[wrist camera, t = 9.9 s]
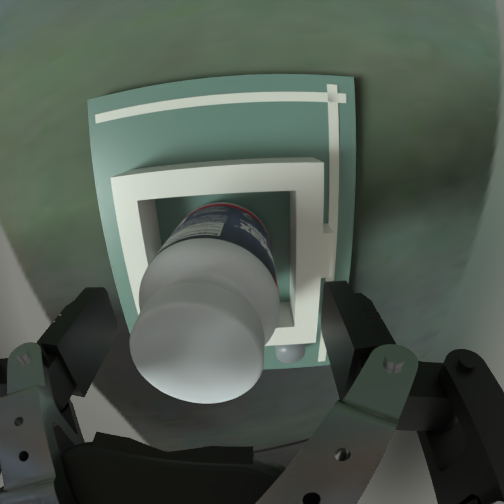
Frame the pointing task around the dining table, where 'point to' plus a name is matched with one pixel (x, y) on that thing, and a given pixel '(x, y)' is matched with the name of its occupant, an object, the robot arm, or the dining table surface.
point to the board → (234, 182)
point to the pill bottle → (208, 306)
